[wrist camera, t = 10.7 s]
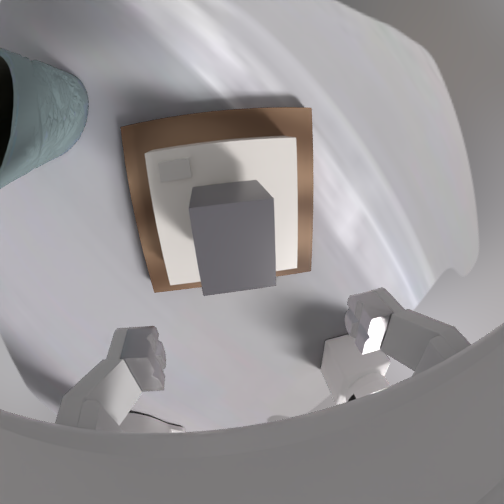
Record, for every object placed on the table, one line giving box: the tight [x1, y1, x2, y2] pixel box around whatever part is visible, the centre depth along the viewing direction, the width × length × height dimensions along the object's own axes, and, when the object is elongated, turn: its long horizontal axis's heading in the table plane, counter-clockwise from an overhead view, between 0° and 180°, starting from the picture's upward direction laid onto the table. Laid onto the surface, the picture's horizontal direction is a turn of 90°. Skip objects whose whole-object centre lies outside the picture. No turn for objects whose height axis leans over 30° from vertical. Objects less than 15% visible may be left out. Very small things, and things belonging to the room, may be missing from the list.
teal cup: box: [0, 48, 89, 189], centre depth 12 cm, size 10×10×12 cm
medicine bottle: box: [321, 334, 390, 404], centre depth 32 cm, size 7×7×12 cm
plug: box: [189, 180, 276, 296], centre depth 18 cm, size 7×4×6 cm, turn 4°
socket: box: [145, 136, 298, 285], centre depth 21 cm, size 11×11×4 cm
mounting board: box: [121, 107, 313, 293], centre depth 24 cm, size 16×16×2 cm
